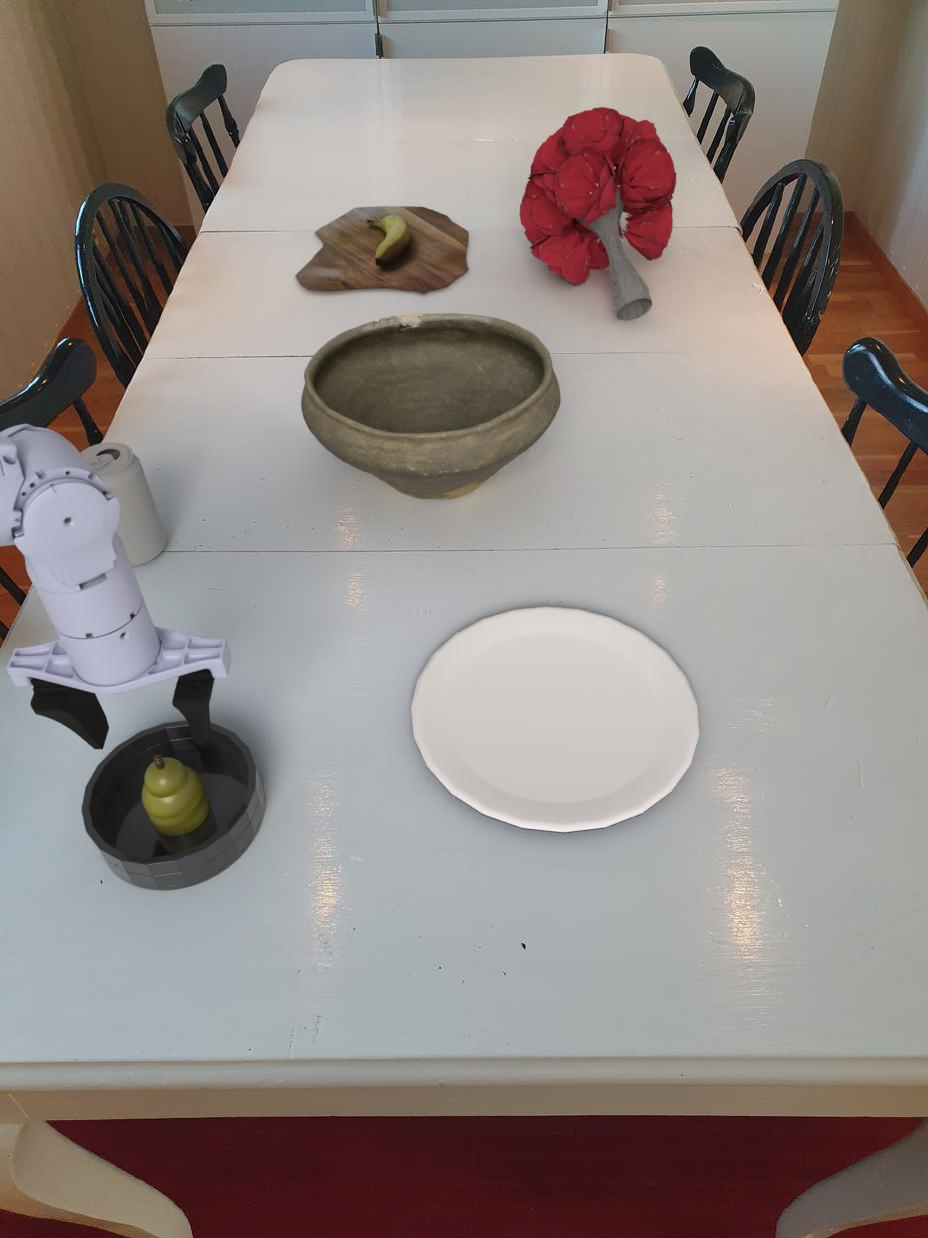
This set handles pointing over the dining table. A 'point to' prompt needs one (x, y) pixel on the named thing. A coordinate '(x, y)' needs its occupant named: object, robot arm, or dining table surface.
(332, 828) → the dining table surface
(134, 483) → the beverage can
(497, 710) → the plate
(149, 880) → the pan
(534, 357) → the bowl
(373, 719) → the dining table surface
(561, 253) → the bouquet
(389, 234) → the cutting board
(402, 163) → the dining table surface
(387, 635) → the dining table surface
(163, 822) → the pear
